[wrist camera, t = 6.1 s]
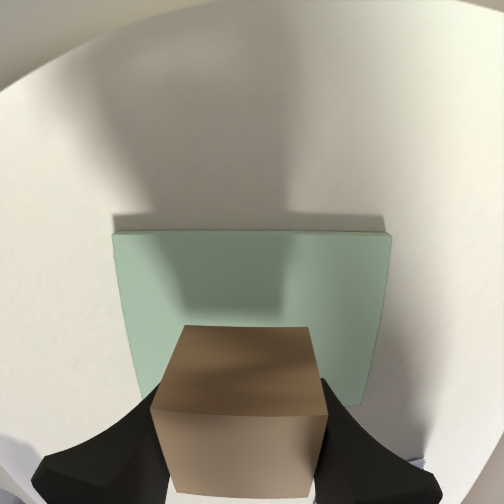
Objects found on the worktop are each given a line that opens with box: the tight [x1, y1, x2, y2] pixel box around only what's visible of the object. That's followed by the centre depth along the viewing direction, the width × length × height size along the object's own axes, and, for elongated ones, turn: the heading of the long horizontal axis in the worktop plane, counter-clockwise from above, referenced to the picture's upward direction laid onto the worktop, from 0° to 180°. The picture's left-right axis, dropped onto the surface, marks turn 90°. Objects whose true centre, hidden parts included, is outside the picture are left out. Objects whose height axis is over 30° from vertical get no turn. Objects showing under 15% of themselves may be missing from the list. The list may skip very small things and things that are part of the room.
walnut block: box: [150, 325, 328, 499], centre depth 11 cm, size 5×5×5 cm
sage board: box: [112, 230, 392, 407], centre depth 17 cm, size 14×11×1 cm
